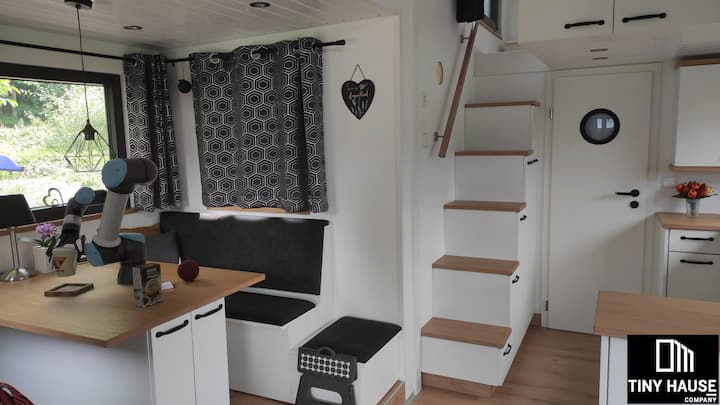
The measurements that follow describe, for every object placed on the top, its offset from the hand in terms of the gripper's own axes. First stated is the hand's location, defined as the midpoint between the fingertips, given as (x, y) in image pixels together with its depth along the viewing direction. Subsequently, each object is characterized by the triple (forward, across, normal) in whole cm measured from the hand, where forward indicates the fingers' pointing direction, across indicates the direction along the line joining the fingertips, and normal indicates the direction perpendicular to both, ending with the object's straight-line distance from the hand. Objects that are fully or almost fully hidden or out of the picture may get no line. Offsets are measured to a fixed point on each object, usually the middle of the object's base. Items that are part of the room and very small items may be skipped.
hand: (63, 268), depth 236 cm
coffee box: (+27, -40, +12) cm, 49 cm away
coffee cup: (+1, 0, -5) cm, 5 cm away
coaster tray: (+6, -1, -10) cm, 12 cm away
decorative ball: (+4, -52, -11) cm, 54 cm away
